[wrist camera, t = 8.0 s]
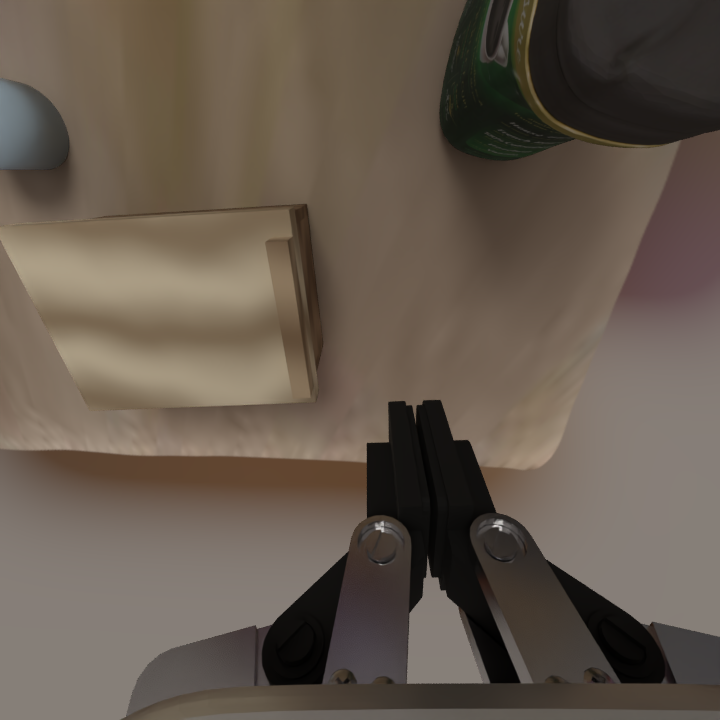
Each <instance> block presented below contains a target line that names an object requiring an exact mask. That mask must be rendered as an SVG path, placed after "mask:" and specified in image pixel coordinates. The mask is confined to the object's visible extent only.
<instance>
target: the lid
mask: <svg viewBox="0 0 720 720" xmlns="http://www.w3.org/2000/svg"><path fill="white" fill-rule="evenodd" d="M0 240H1V242H2V244H3V246H4V248H5V250H6V252H7V254H8V256H9V258H10V259H11V261H12V263H13V265H14V267H15V269H16V271H17V273H18V275H19V277H20V279H21V280H22V282H23V284H24V286H25V288H26V290H27V292H28V294H29V296H30V298H31V300H32V301H33V303H34V305H35V307H36V309H37V311H38V313H39V315H40V317H41V319H42V321H43V323H44V324H45V326H46V328H47V330H48V332H49V334H50V336H51V338H52V340H53V342H54V344H55V345H56V347H57V349H58V351H59V353H60V355H61V357H62V359H63V361H64V363H65V365H66V366H67V368H68V370H69V372H70V374H71V376H72V378H73V380H74V382H75V384H76V386H77V387H78V389H79V391H80V393H81V395H82V397H83V399H84V401H85V403H86V405H87V407H88V408H89V410H90V411H100V410H126V409H152V408H178V407H204V406H229V405H255V404H281V403H307V402H316V400H317V396H318V391H319V388H318V381H317V373H316V366H315V358H314V351H313V343H312V336H311V328H310V321H309V314H308V306H307V299H306V291H305V284H304V276H303V269H302V262H301V254H300V247H299V239H298V232H297V224H296V217H295V210H294V207H280V208H263V209H247V210H231V211H214V212H198V213H181V214H165V215H148V216H132V217H115V218H99V219H83V220H66V221H50V222H33V223H18V224H11V225H5V226H0Z"/></svg>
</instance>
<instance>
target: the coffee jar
mask: <svg viewBox="0 0 720 720" xmlns="http://www.w3.org/2000/svg"><path fill="white" fill-rule="evenodd" d="M440 123H441V127H442V130H443V133H444V135H445V137H446V139H447V140H448V141H449V142H450V143H451V145H452V146H454V147H455V148H456V149H458V150H460V151H462V152H464V153H467V154H470V155H473V156H477V157H480V158H485V159H490V160H513V159H518V158H522V157H526V156H529V155H532V154H535V153H537V152H540V151H543V150H545V149H548V148H550V147H553V146H556V145H559V144H562V143H565V142H568V141H571V140H574V139H578V140H581V141H585V142H588V143H593V144H598V145H604V146H611V147H623V148H650V147H657V146H662V145H666V144H669V143H672V142H676V141H679V140H683V139H687V138H690V137H693V136H697V135H700V134H703V133H708V132H712V131H717V130H720V0H467V2H466V5H465V8H464V11H463V13H462V16H461V18H460V21H459V25H458V28H457V31H456V34H455V37H454V40H453V45H452V48H451V52H450V56H449V60H448V64H447V68H446V72H445V77H444V82H443V88H442V95H441V102H440Z"/></svg>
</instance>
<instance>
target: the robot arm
mask: <svg viewBox="0 0 720 720" xmlns="http://www.w3.org/2000/svg"><path fill="white" fill-rule="evenodd" d="M388 414H389V442H387V443H367V519H365V520H364V521H362V522H361V523H359V525H358V526H357V527H356V528H355V530H354V532H353V535H352V538H351V542H350V547H349V551H348V552H347V553H346V554H345V555H344V556H343V557H342V558H341V559H340V560H339V561H338V562H337V563H336V564H335V565H334V566H332V567H331V568H330V569H329V570H328V571H327V572H326V573H325V574H324V575H323V576H322V577H321V578H320V579H319V580H318V581H317V582H315V583H314V584H313V585H312V586H311V587H310V588H309V589H308V590H307V591H306V592H305V593H304V594H303V595H302V596H301V597H300V598H299V599H298V600H296V601H295V602H294V603H293V604H292V605H291V606H290V607H289V608H288V609H287V610H286V611H285V612H284V613H283V614H282V615H281V616H279V617H278V618H277V620H276V621H275V622H274V623H273V624H272V625H270V626H266V627H263V628H259V629H257V628H256V626H252V627H248V628H244V629H240V630H237V631H233V632H230V633H226V634H223V635H219V636H215V637H212V638H208V639H205V640H201V641H197V642H194V643H190V644H187V645H183V646H180V647H176V648H173V649H170V650H168V651H166V652H164V653H162V654H160V655H158V656H157V657H156V658H155V659H154V660H153V661H152V662H150V663H149V664H148V665H147V667H146V668H145V670H144V671H143V672H142V674H141V675H140V676H139V678H138V680H137V682H136V685H135V688H134V690H133V692H132V695H131V699H130V703H129V707H128V711H127V715H126V717H125V718H123V719H121V720H720V637H718V636H713V635H709V634H705V633H700V632H696V631H691V630H687V629H682V628H678V627H674V626H669V625H665V624H661V623H656V622H652V623H651V624H650V626H649V625H645V624H640V623H639V622H638V621H637V620H636V619H634V618H633V617H632V616H631V615H629V614H628V613H626V612H625V611H623V610H622V609H620V608H619V607H617V606H616V605H614V604H613V603H611V602H610V601H608V600H607V599H605V598H604V597H602V596H601V595H599V594H597V593H596V592H595V591H593V590H591V589H590V588H589V587H587V586H586V585H584V584H582V583H581V582H579V581H578V580H576V579H575V578H573V577H572V576H570V575H569V574H567V573H566V572H564V571H563V570H561V569H560V568H558V567H557V566H555V565H554V564H552V563H551V562H549V561H548V560H546V559H545V558H544V556H543V554H542V553H541V551H540V549H539V548H538V546H537V545H536V543H535V541H534V540H533V538H532V536H531V535H530V534H529V532H528V531H527V530H526V528H525V527H524V526H523V525H521V524H520V523H519V522H518V521H516V520H515V519H513V518H511V517H509V516H506V515H503V514H499V513H496V510H495V508H494V505H493V502H492V500H491V497H490V494H489V492H488V489H487V486H486V483H485V481H484V478H483V475H482V473H481V470H480V467H479V465H478V462H477V459H476V457H475V454H474V451H473V449H472V446H471V444H470V442H469V441H468V440H455V441H454V440H453V437H452V434H451V431H450V428H449V424H448V421H447V418H446V415H445V412H444V409H443V405H442V402H441V400H424V401H423V404H422V405H417V408H416V423H415V418H414V413H413V408H412V405H408V406H406V403H405V401H395V402H388ZM427 556H428V559H429V566H430V571H431V576H432V577H438V578H439V584H440V589H441V590H446V593H447V597H448V598H449V599H451V600H452V601H453V602H454V603H455V604H456V605H457V606H458V607H459V613H460V617H461V620H462V623H463V625H464V628H465V631H466V634H467V637H468V640H469V643H470V646H471V649H472V652H473V655H474V658H475V660H476V663H477V666H478V669H479V672H480V675H481V678H482V681H483V684H407V659H408V635H409V613H410V612H411V610H412V609H413V608H414V607H415V605H416V604H417V603H418V602H419V600H420V599H421V598H422V594H423V579H424V578H426V571H427Z"/></svg>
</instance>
